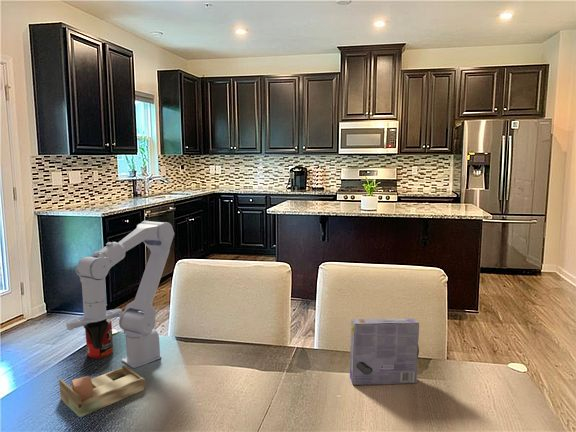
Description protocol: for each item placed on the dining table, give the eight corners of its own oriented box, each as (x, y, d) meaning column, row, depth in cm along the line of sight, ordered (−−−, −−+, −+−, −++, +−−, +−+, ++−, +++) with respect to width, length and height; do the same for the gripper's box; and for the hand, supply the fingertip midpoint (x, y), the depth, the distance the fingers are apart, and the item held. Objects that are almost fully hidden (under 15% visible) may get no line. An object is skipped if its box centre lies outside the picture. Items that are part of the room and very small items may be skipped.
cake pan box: (414, 374, 126) (416, 316, 123) (421, 383, 121) (423, 322, 118) (348, 377, 125) (349, 318, 122) (352, 386, 120) (353, 325, 117)
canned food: (104, 359, 137) (101, 326, 135) (81, 357, 138) (79, 324, 137) (118, 349, 144) (116, 317, 143) (96, 347, 146) (94, 315, 144)
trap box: (124, 374, 127) (123, 356, 127) (145, 389, 119) (144, 370, 119) (60, 399, 115) (59, 379, 114) (79, 417, 107) (77, 396, 106)
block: (89, 389, 115) (88, 375, 114) (93, 396, 111) (92, 381, 111) (72, 394, 112) (71, 380, 112) (76, 401, 109) (74, 386, 109)
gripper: (113, 291, 128) (115, 336, 130) (60, 303, 117) (64, 351, 119) (124, 296, 123) (127, 342, 125) (71, 309, 113) (74, 359, 114)
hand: (97, 347), depth 122 cm, fingers closed
